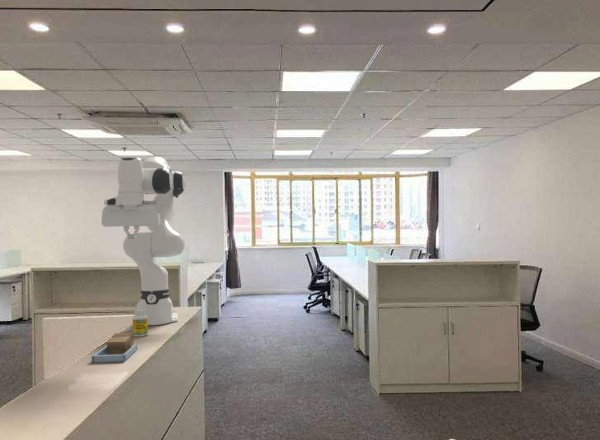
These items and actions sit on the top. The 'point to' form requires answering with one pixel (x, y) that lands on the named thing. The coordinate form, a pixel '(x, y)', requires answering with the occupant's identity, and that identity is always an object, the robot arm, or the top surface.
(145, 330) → the supplement bottle
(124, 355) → the tray
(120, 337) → the wooden block
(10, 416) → the top surface
